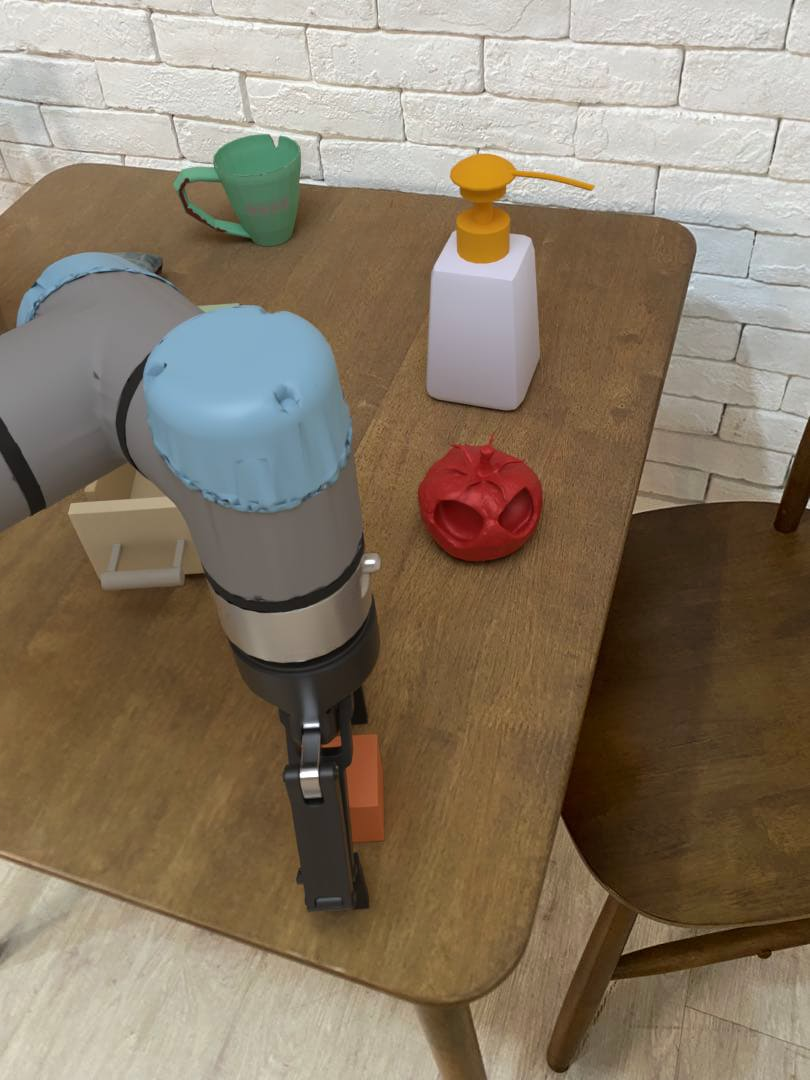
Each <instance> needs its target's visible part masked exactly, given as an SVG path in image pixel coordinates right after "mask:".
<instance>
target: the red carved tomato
mask: <svg viewBox="0 0 810 1080" xmlns="http://www.w3.org/2000/svg"><path fill="white" fill-rule="evenodd" d="M494 436H495V430H492V434H491V435H490V438H489V442H488V444H487V443H486V444H483V445H470V444H465V445H463V444H453V443H449V442H447V443H446V444H447V445H449V446H451V447H452V448H450V449H449V450H448V451H447V452H446V454H444V456H442V457H441V458H440V459H438V460H437V461H435V462H434V463H432V465H431V466H430V467H429V469H428V470H427V471H426V473H425V475H424V477H423V479H422V481H421V482H420V483H419V485H418V488H417V501H418V505H419V510H420V517H421V520H422V522H423V525H424V527H425V528H426V530H427V531H428V532H427V533H429V535H430V536H431V538H432V539H433V540H434V541H435V542H436V544H437V545H438V546H439V547H440V548H442V549H443V550H444V551H445V552H446V553H447V554H449V556H452V557H454V558H456V559H458V560H464V561H466V562H485V561H493V560H497V559H500V558H504V557H507V556H509V555H510V554H513V553H514V552H516V551H517V550H518V549H520V548H521V547H522V546H524V544H526V542H527V541H528V540H529V539H530V538H531V537H532V536H533V534H534V533H535V531H536V530H537V527H538V525H539V522H540V518H541V515H542V513H543V507H544V497H543V495H544V493H543V487H542V486H543V485H542V483H541V481H540V479H539V477H538V475H537V473H536V472H535V471H534V470H533V469H532V468H531V467H530V466H529V465H527V464H526V463H525V462H526V458H525V459H519V458H517V457H515V456H513V455H511V454H509V453H507V452H505V451H501V450H500V449H499V450H498V449H495V447H494V446H492V445H493V442H494Z"/></svg>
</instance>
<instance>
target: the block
mask: <svg viewBox="0 0 810 1080" xmlns="http://www.w3.org/2000/svg"><path fill="white" fill-rule="evenodd" d="M352 738H353V750H354V751H353V757H352V763H351V764H350V766H348V767H347V768H346V774H347V785H348V796H349V807H350V818H351V829H352V840H353V843H366V842H367V843H368V842H383V841H385V805H384V801H385V799H384V797H385V795H384V769H383V768H384V767H383V762H382V757H381V751H380V745H379V744H380V743H379V739H378V734H377V733H369V734H352ZM339 746H341V735H337V736H336V737H335V738H334V739H333V740H332V741H331V742H330V743H328V744H326V745H323V748H324V747H339ZM301 747H302V746H301Z"/></svg>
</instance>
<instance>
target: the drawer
mask: <svg viewBox="0 0 810 1080" xmlns="http://www.w3.org/2000/svg"><path fill="white" fill-rule="evenodd" d="M84 494H85V497H86V499H87V501H82V502H71V503H70V505H69V508H68V512H67V516H68V518H69V520H70V522H71V524H72V526H73V528H74V530H75V532H76V535H77V536H78V539H79V540H80V543H81V545H82V547H83V549H84V551H85V553H86V555H87V557H88V559H89V561H90V563H91V566H92V568H93V569H94V571H95V574H96V576H97V578H98V580H100V586H101V589H102V590H103V591H105V592H106V591H107V592H108V591H121V590H135V589H137V590H138V589H151V588H153V589H154V588H167V587H182V586H184V585H185V581H186V575H193V574H194V575H195V574H205V573H204V570H203V567H202V565H201V560H200V558H199V555H198V552H197V550H196V547H195V544H194V542H193V539H192V537H191V534H190V531H189V529H188V526H187V523H186V521H185V519H184V518H183V516H182V514H181V512H180V511H179V509H178V508H177V507H176V505H175V504H174V503H173V502H172V501H171V500H170V499H169V498H168V497H167V496H166V495H165V494H164V493H163V492H162V491H161V490H160V489H158V488H157V487H156V486H155V485H154V484H153V483H152V482H151V481H150V480H148V479H147V478H145V477H144V476H143V475H142V474H141V473H140V472H138V471H137V470H136V469H135V468H134V467H133V466H132V465H131V464H130V463H129V462H128V463H126V464H124V465H122V466H121V467H119V468H117V469H115V470H114V471H112V472H110V473H109V474H107V475H105V476H103V477H102V478H100V479H98V480H96V481H95V482H93V483H91V484H89V485H87V486H86V487H84Z"/></svg>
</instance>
